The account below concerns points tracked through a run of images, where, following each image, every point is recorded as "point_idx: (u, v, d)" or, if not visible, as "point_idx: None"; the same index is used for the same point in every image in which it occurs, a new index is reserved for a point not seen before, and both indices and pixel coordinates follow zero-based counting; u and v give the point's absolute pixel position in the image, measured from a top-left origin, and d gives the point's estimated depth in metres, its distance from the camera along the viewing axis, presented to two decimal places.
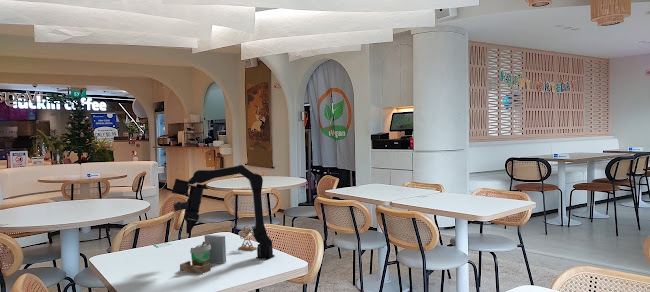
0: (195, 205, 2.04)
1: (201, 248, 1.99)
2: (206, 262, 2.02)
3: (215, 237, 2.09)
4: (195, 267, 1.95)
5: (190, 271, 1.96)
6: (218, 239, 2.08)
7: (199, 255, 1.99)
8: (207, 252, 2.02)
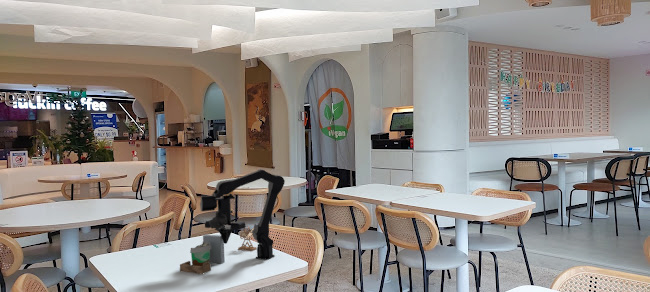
0: (230, 216, 2.07)
1: (201, 248, 1.99)
2: (206, 262, 2.02)
3: (214, 237, 2.09)
4: (195, 267, 1.95)
5: (190, 271, 1.96)
6: (217, 239, 2.09)
7: (199, 255, 1.99)
8: (207, 252, 2.02)
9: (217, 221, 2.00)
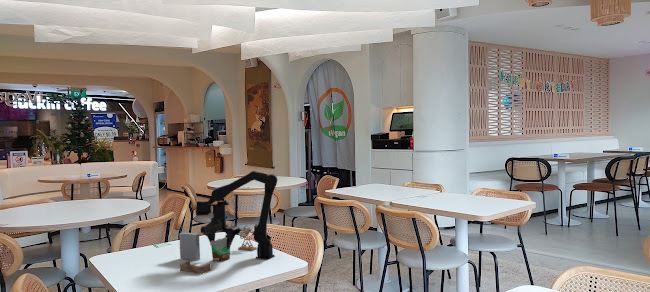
0: (225, 221, 2.13)
1: (220, 241, 2.10)
2: (225, 255, 2.13)
3: (190, 235, 2.15)
4: (195, 267, 1.95)
5: (190, 271, 1.96)
6: (192, 237, 2.15)
7: (218, 248, 2.11)
8: None
9: (212, 227, 2.06)
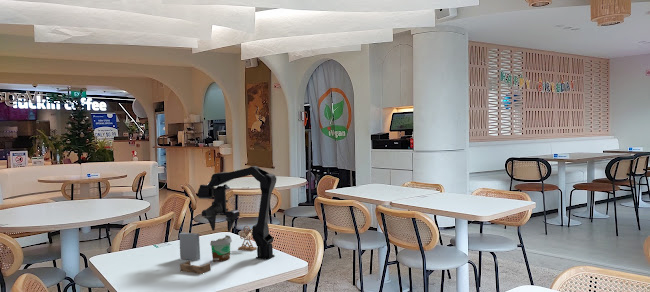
0: (225, 205, 2.20)
1: (220, 241, 2.10)
2: (225, 255, 2.13)
3: (190, 235, 2.15)
4: (195, 267, 1.95)
5: (190, 271, 1.96)
6: (192, 237, 2.15)
7: (218, 248, 2.11)
8: (227, 245, 2.13)
9: (213, 209, 2.13)
